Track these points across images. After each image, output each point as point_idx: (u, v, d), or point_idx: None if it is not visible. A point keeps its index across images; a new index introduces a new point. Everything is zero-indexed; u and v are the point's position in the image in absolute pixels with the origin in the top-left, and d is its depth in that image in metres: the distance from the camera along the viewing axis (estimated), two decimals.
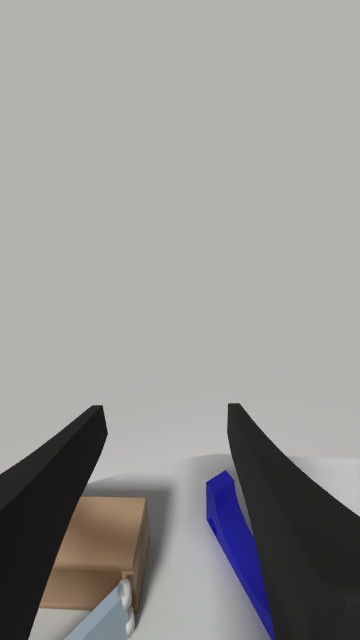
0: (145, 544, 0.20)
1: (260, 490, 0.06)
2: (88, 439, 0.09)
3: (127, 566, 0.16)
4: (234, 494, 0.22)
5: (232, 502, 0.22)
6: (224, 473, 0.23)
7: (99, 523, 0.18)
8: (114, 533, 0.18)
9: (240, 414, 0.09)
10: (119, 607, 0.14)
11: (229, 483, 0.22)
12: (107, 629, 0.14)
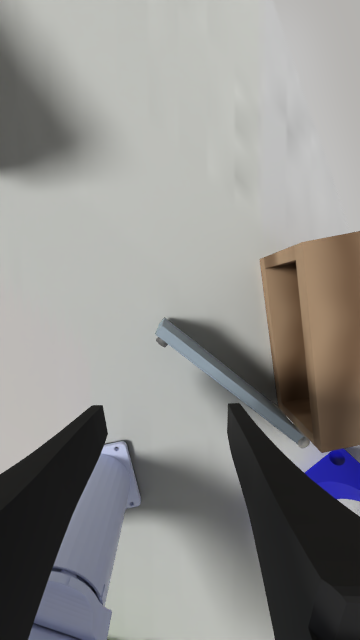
0: None
1: (260, 490, 0.06)
2: (88, 439, 0.09)
3: (319, 446, 0.15)
4: None
5: None
6: None
7: (351, 398, 0.14)
8: (344, 421, 0.14)
9: (239, 414, 0.09)
10: None
11: None
12: None
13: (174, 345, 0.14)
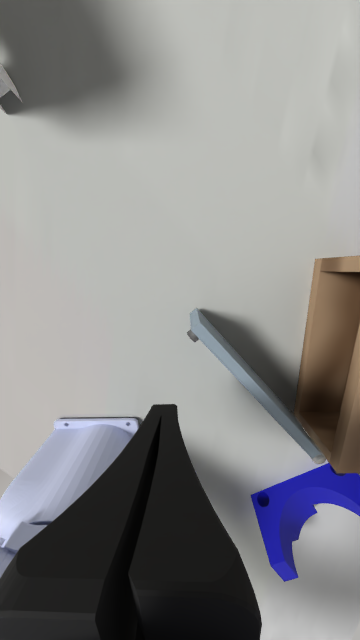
0: None
1: None
2: (160, 439, 0.09)
3: (335, 466, 0.14)
4: None
5: None
6: None
7: None
8: None
9: (167, 415, 0.09)
10: None
11: None
12: None
13: (209, 345, 0.13)
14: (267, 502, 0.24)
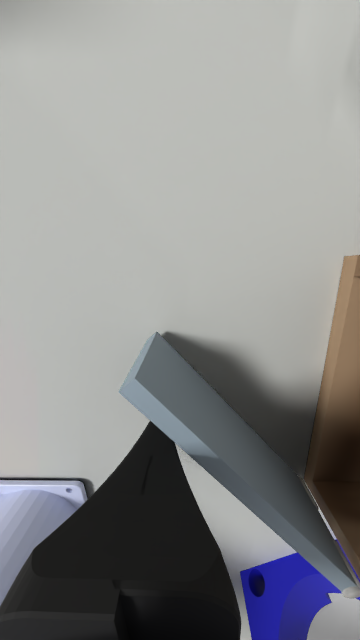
0: None
1: None
2: None
3: None
4: None
5: None
6: None
7: None
8: None
9: None
10: None
11: None
12: None
13: (156, 418, 0.07)
14: (262, 581, 0.18)
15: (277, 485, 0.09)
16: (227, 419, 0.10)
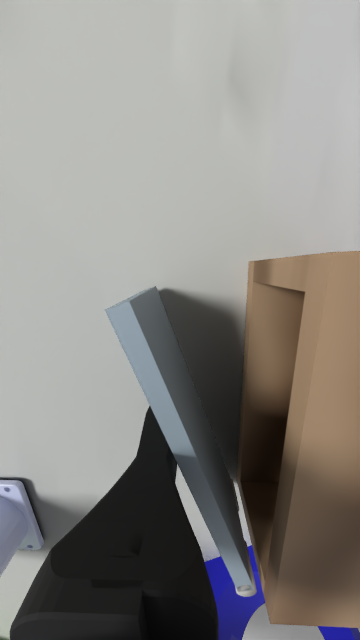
0: None
1: None
2: None
3: (269, 610, 0.09)
4: None
5: None
6: None
7: (349, 571, 0.07)
8: (323, 596, 0.08)
9: (152, 415, 0.09)
10: None
11: None
12: None
13: (133, 355, 0.06)
14: None
15: (216, 473, 0.09)
16: (192, 396, 0.10)
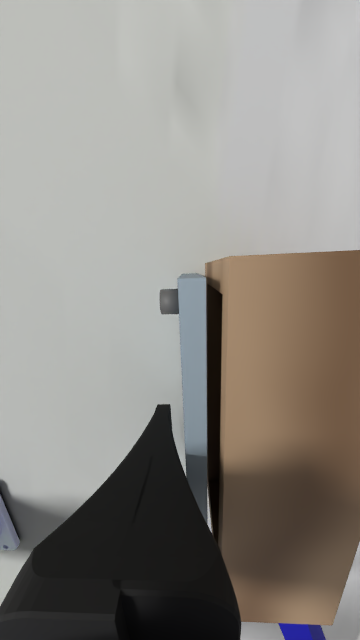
0: None
1: None
2: None
3: None
4: None
5: None
6: None
7: (289, 568, 0.07)
8: (267, 593, 0.08)
9: (160, 415, 0.09)
10: None
11: None
12: None
13: (187, 333, 0.06)
14: None
15: None
16: None
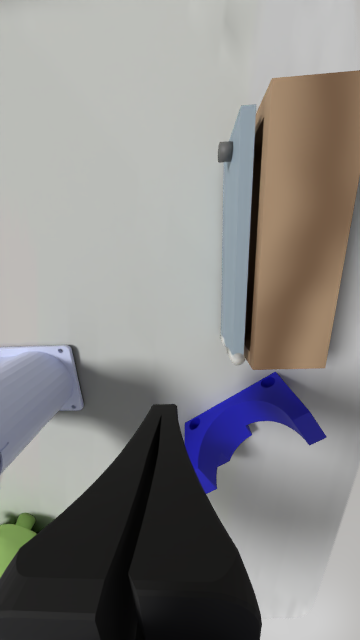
0: None
1: None
2: (159, 439, 0.09)
3: (252, 363, 0.13)
4: (294, 429, 0.17)
5: (286, 422, 0.17)
6: (320, 435, 0.15)
7: (298, 312, 0.12)
8: (284, 338, 0.13)
9: (167, 415, 0.09)
10: (230, 348, 0.14)
11: (306, 439, 0.15)
12: (228, 333, 0.15)
13: (243, 142, 0.10)
14: None
15: None
16: None
